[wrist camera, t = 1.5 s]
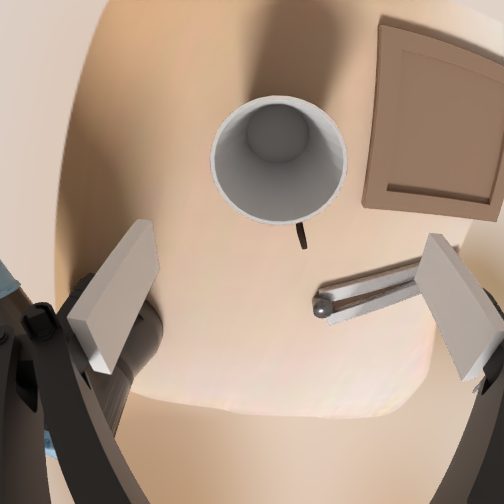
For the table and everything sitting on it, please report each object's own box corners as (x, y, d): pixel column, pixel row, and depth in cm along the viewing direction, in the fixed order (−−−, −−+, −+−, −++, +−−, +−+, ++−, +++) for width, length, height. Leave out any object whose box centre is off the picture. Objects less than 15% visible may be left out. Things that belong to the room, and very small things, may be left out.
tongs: (317, 319, 39) (318, 329, 38) (308, 291, 37) (309, 301, 35) (453, 281, 35) (459, 289, 33) (455, 250, 32) (461, 259, 31)
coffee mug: (237, 81, 25) (217, 86, 16) (332, 98, 25) (361, 112, 16) (222, 197, 31) (202, 251, 23) (307, 211, 31) (318, 269, 23)
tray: (361, 203, 30) (364, 208, 29) (377, 26, 20) (382, 24, 19) (491, 217, 29) (496, 222, 28) (518, 75, 20) (524, 76, 18)
